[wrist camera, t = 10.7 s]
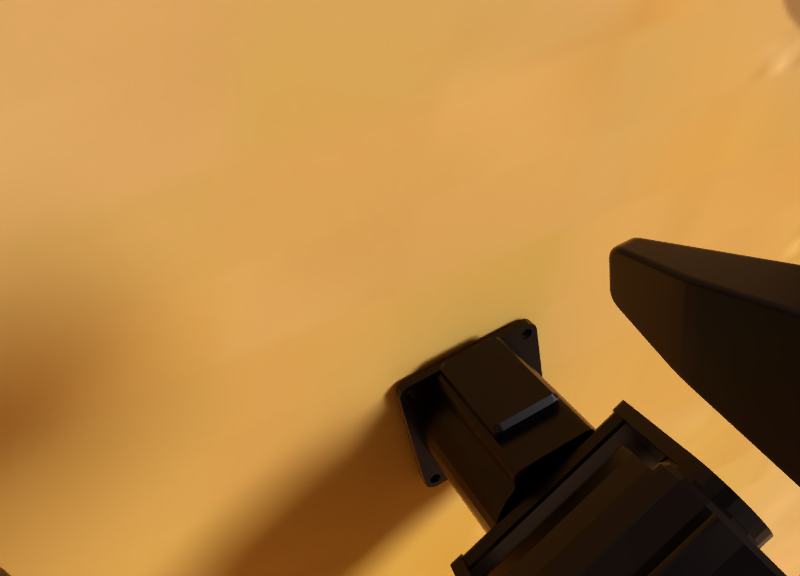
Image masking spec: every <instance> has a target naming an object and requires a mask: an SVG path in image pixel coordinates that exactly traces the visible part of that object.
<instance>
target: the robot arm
mask: <svg viewBox="0 0 800 576" xmlns="http://www.w3.org/2000/svg"><path fill="white" fill-rule="evenodd" d="M609 269H610V292H611V296H612V298H613V301H614V302H615V304H616V305H617V307H618V308H619V309H620V310H621V311H622V312H623V313H624V315H625V316H626V317H627V318H628V319H629V320H630V321H631V323H632V324H633V325H634V326H635V327H636V328H637V329H638V330H639V332H640V333H641V334H642V335H643V336H644V337H645V338H646V340H647V341H648V342H649V343H650V344H651V345H652V346H653V348H654V349H655V350H656V351H657V352H658V353H659V354H660V355H661V357H662V358H663V359H664V360H665V361H666V362H667V363H668V365H669V366H670V367H671V368H672V369H673V370H674V371H675V372H676V373H677V374H678V375H679V376H680V377H681V378H682V379H683V380H684V381H685V382H686V383H687V384H688V385H689V386H690V387H691V388H692V389H693V390H695V391H696V392H697V393H698V394H699V395H700V396H701V397H702V398H703V399H704V400H705V401H707V402H708V403H709V404H710V405H711V406H712V407H713V408H714V409H715V410H716V411H717V412H719V413H720V414H721V415H722V416H723V417H724V418H725V419H726V420H727V421H728V422H729V423H731V424H732V425H733V426H734V427H735V428H736V429H737V430H738V431H739V432H740V433H741V434H743V435H744V436H745V437H746V438H747V439H748V440H749V441H750V442H751V443H752V444H753V445H755V446H756V447H757V448H758V449H759V450H760V451H761V452H762V453H763V454H764V455H765V456H767V457H768V458H769V459H770V460H771V461H772V462H773V463H774V464H775V465H776V466H777V467H779V468H780V469H781V470H782V471H783V472H784V473H785V474H786V475H787V476H788V477H789V478H791V479H792V480H793V481H794V482H795V483H796V484H797V485H798V486H799V487H800V265H797V264H791V263H785V262H779V261H773V260H767V259H761V258H755V257H750V256H744V255H738V254H732V253H726V252H720V251H714V250H708V249H702V248H696V247H690V246H684V245H678V244H673V243H667V242H661V241H655V240H649V239H643V238H632V239H629V240H627V241H626V242H624V243H622V244H620V245H618V246H616V247H614V248H613V249H612V250H611V252H610V255H609ZM409 391H411V392H409ZM408 392H409V393H408ZM407 393H408V394H407ZM396 397H397V400H398V403H399V407H400V410H401V413H402V416H403V420H404V423H405V426H406V429H407V433H408V436H409V439H410V442H411V446H412V449H413V452H414V455H415V459H416V462H417V465H418V468H419V471H420V475H421V478H422V479H423V481H424V482H425V484H426V485H427V486H428V487H434V486H437V485H439V484H440V483H442V482H444V481H446V480H447V479H448V480H449V481H450V483H451V484H452V486H453V487H454V488H455V490H456V491H457V493H458V494H459V495H460V497H461V498H462V500H463V501H464V502H465V504H466V505H467V507H468V508H469V509H470V511H471V512H472V514H473V515H474V516H475V518H476V519H477V521H478V522H479V523H480V525H481V526H482V528H483V529H484V530H485V532H486V533H487V534H485V535H484V536H483V537H482V538H481V539H480V540H479V541H478V542H477V543H476V544H475V545H474V546H473V547H472V548H471V549H470V550H469V551H468V552H467V553H466V554H464V555H462V554H461V555H460V556H459V557H458V558H457V559H456V560H454V561H453V562H452V563H451V568H452V570H453V572H454V574H455V576H786V575H785V574H784V573H783V572H782V571H781V570H780V569H779V568H778V567H777V566H776V565H775V564H774V563H773V562H772V561H771V560H770V559H769V558H768V557H767V556H766V555H765V554H764V553H763V552H762V551H761V550H760V548H761V547H762V546H763V545H764V544H765V543H766V542H767V541H769V540H770V539H771V538H772V537H773V534H772V532H771V531H770V529H769V528H768V527H767V526H766V524H765V523H764V522H763V521H762V520H761V519H760V518H759V517H758V515H757V514H756V513H755V512H754V511H753V510H752V509H751V508H750V507H749V506H748V505H747V504H746V503H745V502H744V501H743V500H742V499H741V498H740V497H739V496H738V495H737V494H736V493H735V492H734V491H733V490H732V489H731V488H730V487H729V486H728V485H726V484H725V483H724V482H723V481H722V480H721V479H720V478H719V477H718V476H717V475H716V474H714V473H713V472H712V471H711V470H710V469H709V468H708V467H706V466H705V465H704V464H703V463H702V462H701V461H699V460H698V459H697V458H696V457H694V456H693V455H692V454H691V453H690V452H688V451H687V450H686V449H684V448H683V447H682V446H681V445H679V444H678V443H677V442H676V441H674V440H673V439H672V438H671V437H669V436H668V435H667V434H666V433H664V432H663V431H662V430H661V429H659V428H658V427H657V426H655V425H654V424H653V423H652V422H650V421H649V420H648V419H647V418H645V417H644V416H643V415H642V414H640V413H639V412H638V411H637V410H635V409H634V408H633V407H631V406H630V405H629V404H628V403H626V402H625V401H624V400H622V401H621V402H620V403H619V404H618V405H617V406H616V407H615V408H614V409H613V412H614V413H612V414H611V415H610V416H609V417H608V418H607V419H606V420H605V421H604V422H603V423H602V424H601V425H600V426H599V427H598V428H597V429H595V428H594V427H593V426H592V425H591V424H590V423H589V422H588V421H587V420H586V419H585V418H584V417H583V416H582V415H581V414H580V413H578V412H577V411H576V410H575V409H574V408H573V407H572V406H571V405H570V404H569V403H568V402H567V401H566V400H565V399H564V398H563V397H562V396H561V395H560V394H559V393H558V392H557V391H556V390H555V389H554V388H553V387H552V386H551V385H550V384H549V383H548V382H547V381H546V380H545V379H544V378H542V371H541V362H540V353H539V345H538V336H537V328H536V326H535V325H534V324H533V323H532V322H531V321H529V320H528V319H522V320H519V321H517V322H516V323H514V324H512V325H510V326H508V327H506V328H504V329H502V330H500V331H498V332H496V333H494V334H493V335H491V336H489V337H487V338H485V339H483V340H481V341H479V342H477V343H475V344H473V345H472V346H470V347H468V348H466V349H464V350H462V351H460V352H458V353H456V354H454V355H452V356H450V357H449V358H447V359H445V360H443V361H441V362H439V363H437V364H435V365H433V366H431V367H429V368H428V369H426V370H424V371H422V372H420V373H418V374H416V375H414V376H412V377H410V378H408V379H406V380H405V381H403V382H402V383H400V384H399V386H398V387H397V389H396ZM0 576H11V575H9V574H8V573H7V572H6V571H5V570H4V569H2V568H1V567H0Z"/></svg>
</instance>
